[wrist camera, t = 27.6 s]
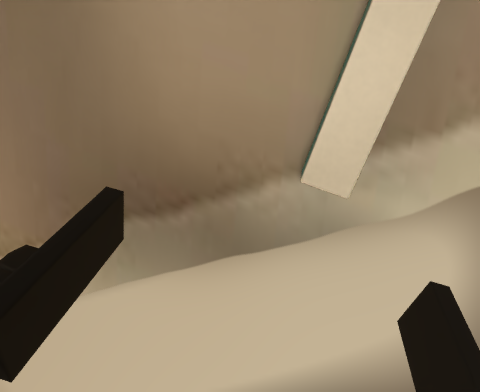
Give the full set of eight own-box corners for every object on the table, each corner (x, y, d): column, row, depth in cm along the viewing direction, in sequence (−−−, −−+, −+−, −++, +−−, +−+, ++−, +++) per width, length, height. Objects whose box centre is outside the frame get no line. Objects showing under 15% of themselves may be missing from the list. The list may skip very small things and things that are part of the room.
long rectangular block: (343, 185, 32) (348, 199, 27) (301, 171, 32) (300, 182, 28) (459, -72, 24) (492, -111, 20) (403, -87, 25) (423, -127, 20)
